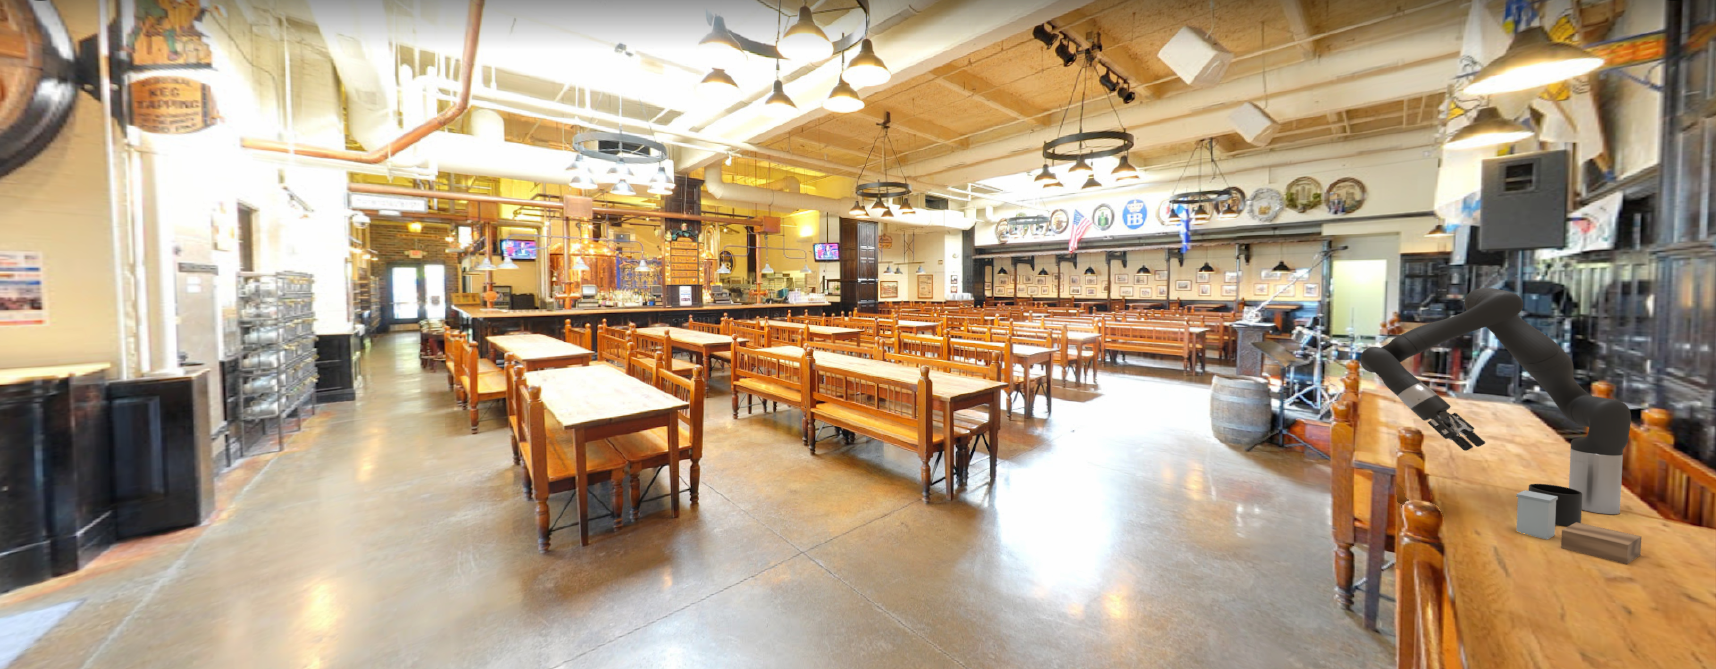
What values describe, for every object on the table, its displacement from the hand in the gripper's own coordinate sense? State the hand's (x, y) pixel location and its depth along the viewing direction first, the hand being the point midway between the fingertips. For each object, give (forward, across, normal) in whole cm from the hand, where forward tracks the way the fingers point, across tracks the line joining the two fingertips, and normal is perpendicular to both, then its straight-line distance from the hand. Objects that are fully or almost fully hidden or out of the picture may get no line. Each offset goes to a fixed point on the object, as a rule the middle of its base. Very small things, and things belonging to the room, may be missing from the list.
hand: (1475, 447), depth 158 cm
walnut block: (+31, -2, -1) cm, 31 cm away
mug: (+22, +18, +7) cm, 30 cm away
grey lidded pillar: (+23, 0, +6) cm, 24 cm away
